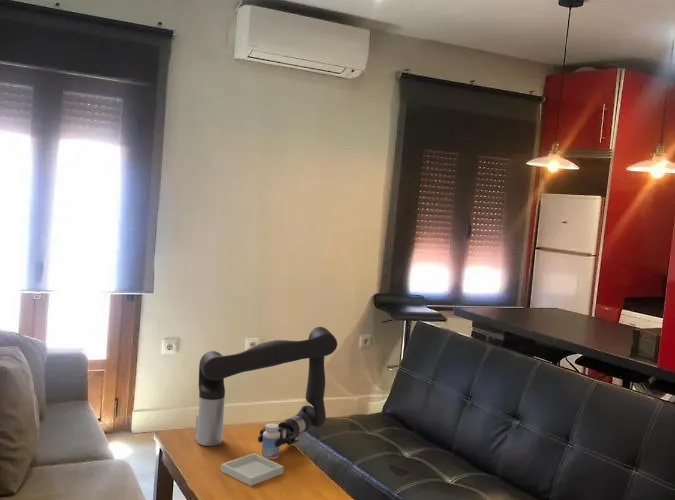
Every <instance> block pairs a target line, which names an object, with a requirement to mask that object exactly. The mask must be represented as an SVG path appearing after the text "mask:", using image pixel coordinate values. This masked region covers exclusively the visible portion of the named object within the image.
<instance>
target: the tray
mask: <svg viewBox="0 0 675 500" xmlns="http://www.w3.org/2000/svg"><path fill="white" fill-rule="evenodd" d="M220 466H221V467H220V472H222V473H224V474H226V475H227V476H230V477H232V478H233V479H236V480H238V481H240V482H242V483H244V484H246V485H248V486H250V487H251V486H254V485H257V484H259V483H262V482H264V481H268V480H270V479H272V478H276V477H277V476H280V475H283V474H284V467H285V466H283V465H282V464H280V463H277V462H275V461H272V459H266V458H264V457H262V455H259V454H257V453H254V452H253V453H250V454H248V455H247V454H246V455H244V456H241V457H238V458H235V459H233V460H229V461H227V462H223V463H221V465H220Z"/></svg>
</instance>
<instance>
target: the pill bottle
mask: <svg viewBox="0 0 675 500" xmlns="http://www.w3.org/2000/svg"><path fill="white" fill-rule="evenodd" d="M278 425H279V424H276V423H267V424H265V427H266V428H265V427H264V428H265V429H266V431H265V432H264V433H263V441H262V442H261V443H262V444H261V447H262V448H261V456H262V457H264V458H266V459H268V460H275V459H278V458H279V456H280V446H279V447H275V443H276V440H278V439H280V433H279V432H278V429H279V426H278Z"/></svg>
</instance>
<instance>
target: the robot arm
mask: <svg viewBox="0 0 675 500" xmlns="http://www.w3.org/2000/svg"><path fill="white" fill-rule="evenodd" d="M337 347H338V341H337V339H336V337H335V336H334V335H333V334H332V332H330V331H329V330H328V329H327V328H326V327H323V326H317V327H315V328H313V329H312V330H311V331H310V333H309V335H308V339H305V340H303V339H302V340H288V339H287V340H285V339H284V340H283V339H278V340H277V339H274V340H271V341H265V342H261V343H257V344H255V345H253V346H251V347H249V348H247V349H246V350H243V351H241V352H238V353H234V354H229V355H223V354H221V353H220V352H219V351H216V350H215V351H214V350H210V351H207V352H206V353H204V354H203V355H202V356H201V358H200V361H199V364H198V365H199V366H198V393H199V394H198V411H197V414H196V416H195V417H196V419H195V435H194V436H195V441H196V443H197V444H199V445H201V446H204V447H206V446H207V447H213V446H214V447H215V446H219V445H221V444H222V443H223V436H224V435H223V434H224V432H223V431H224V418H225V417H224V415H225V414H224V412H225V395H226V389H225V380H224V379H226V378H229V377H232V376H235V375H239V374H241V373H245V372H251V371H256V370H261V369H266V368H270V367H275V366H279V365H283V364H287V363H292V362H297V361H300V360H305V359H308V376H307V385H306V390H305V391H306V393H305V401H306V402H307V403H308V404H309V405H307V404H306V405H304V406H302V407H301V408H300V410H298V412H297V414H295V415H293V416H290V417H288V418H285V419H284V420H283V421H281V422H280V423H278V424H277V425H278V426H279V429H278V432H279V433H280V439H278V440H276V443H275V447H279V448H280V447H281V446H283V445H287V446H291V445H293V444H295V443H297V442H299V436H301V435H302V434H303V433H305V432H306V431H308V430H309V429H310V428H311V427H314V428H317V429H318V428H319V429H320V428H321V427H322V426H323V425H324V424H325V422H326V418H327V417H326V415H327V414H326V408H325V401H324V397H325V391H326V372H325V357H327V356H330V355H332V354H333V353H334V352H335V351H336V350H337ZM311 405H312V406H311ZM265 428H266V426H265V427H263V428H262V429H260V431H259V436H258V437H257V441H258V443H263V433H264V432H265V431H266V429H265Z"/></svg>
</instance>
